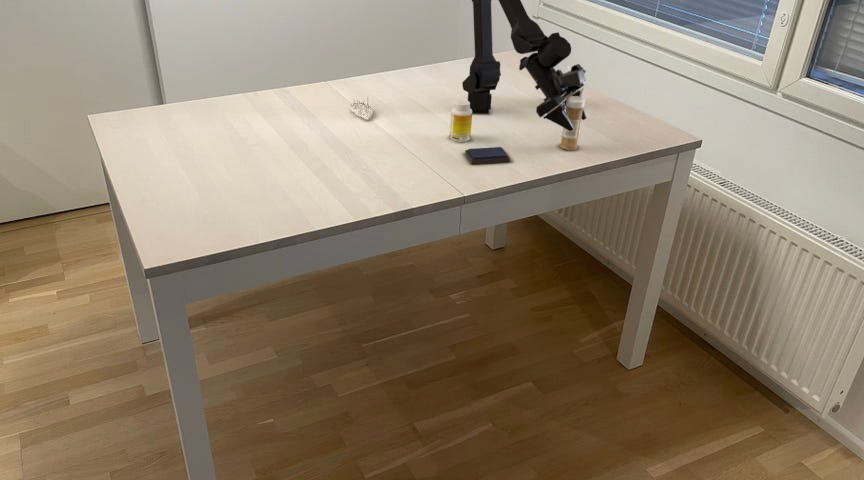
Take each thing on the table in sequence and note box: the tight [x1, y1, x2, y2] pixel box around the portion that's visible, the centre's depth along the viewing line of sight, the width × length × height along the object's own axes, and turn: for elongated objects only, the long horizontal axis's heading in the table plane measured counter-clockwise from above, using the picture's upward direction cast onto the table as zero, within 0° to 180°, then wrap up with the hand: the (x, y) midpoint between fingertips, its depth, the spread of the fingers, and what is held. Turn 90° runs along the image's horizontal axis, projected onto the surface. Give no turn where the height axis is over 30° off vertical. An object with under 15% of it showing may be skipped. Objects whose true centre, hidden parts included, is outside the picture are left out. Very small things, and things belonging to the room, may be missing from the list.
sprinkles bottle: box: [559, 96, 586, 151], centre depth 188 cm, size 5×5×13 cm
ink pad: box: [464, 146, 511, 165], centre depth 185 cm, size 10×6×2 cm, turn 99°
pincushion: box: [348, 97, 374, 120], centre depth 209 cm, size 12×6×6 cm, turn 19°
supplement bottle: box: [449, 99, 473, 143], centre depth 193 cm, size 6×6×10 cm
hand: (578, 124), depth 187 cm, fingers open, 9 cm apart
